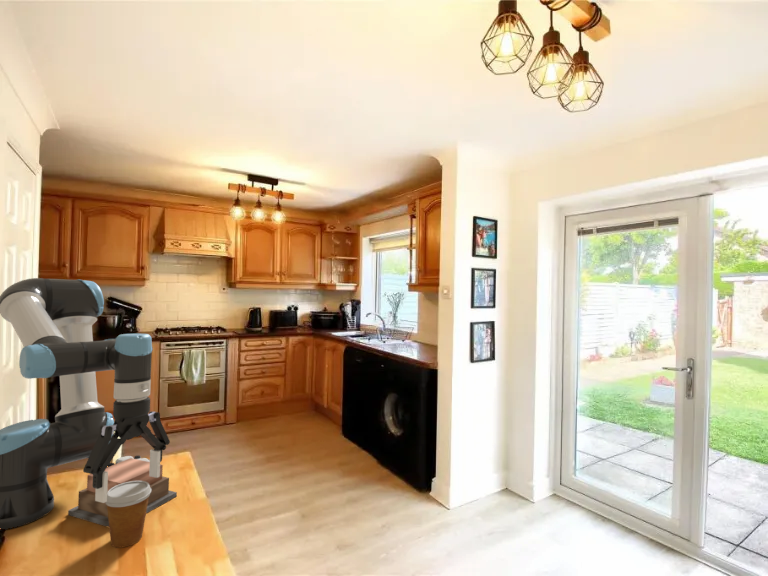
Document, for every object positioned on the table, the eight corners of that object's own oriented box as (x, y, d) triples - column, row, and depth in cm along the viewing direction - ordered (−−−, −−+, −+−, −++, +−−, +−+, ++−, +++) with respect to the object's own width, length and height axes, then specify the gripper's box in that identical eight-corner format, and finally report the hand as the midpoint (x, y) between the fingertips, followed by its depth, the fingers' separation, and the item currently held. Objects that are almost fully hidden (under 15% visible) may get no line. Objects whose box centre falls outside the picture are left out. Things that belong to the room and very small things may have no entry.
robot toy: (99, 475, 131) (113, 486, 121) (99, 460, 132) (113, 471, 122) (141, 463, 141) (157, 473, 131) (141, 450, 141) (157, 459, 131)
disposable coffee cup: (141, 549, 92) (143, 496, 92) (94, 554, 90) (96, 500, 90) (155, 526, 101) (157, 478, 102) (112, 530, 99) (114, 481, 99)
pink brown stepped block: (68, 514, 106) (69, 477, 106) (131, 485, 123) (132, 453, 123) (116, 529, 100) (118, 490, 100) (176, 496, 116) (177, 462, 117)
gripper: (90, 413, 83) (86, 517, 83) (185, 389, 107) (183, 469, 106) (65, 409, 86) (62, 510, 85) (164, 387, 109) (162, 465, 109)
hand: (129, 488), depth 96 cm, fingers open, 13 cm apart
